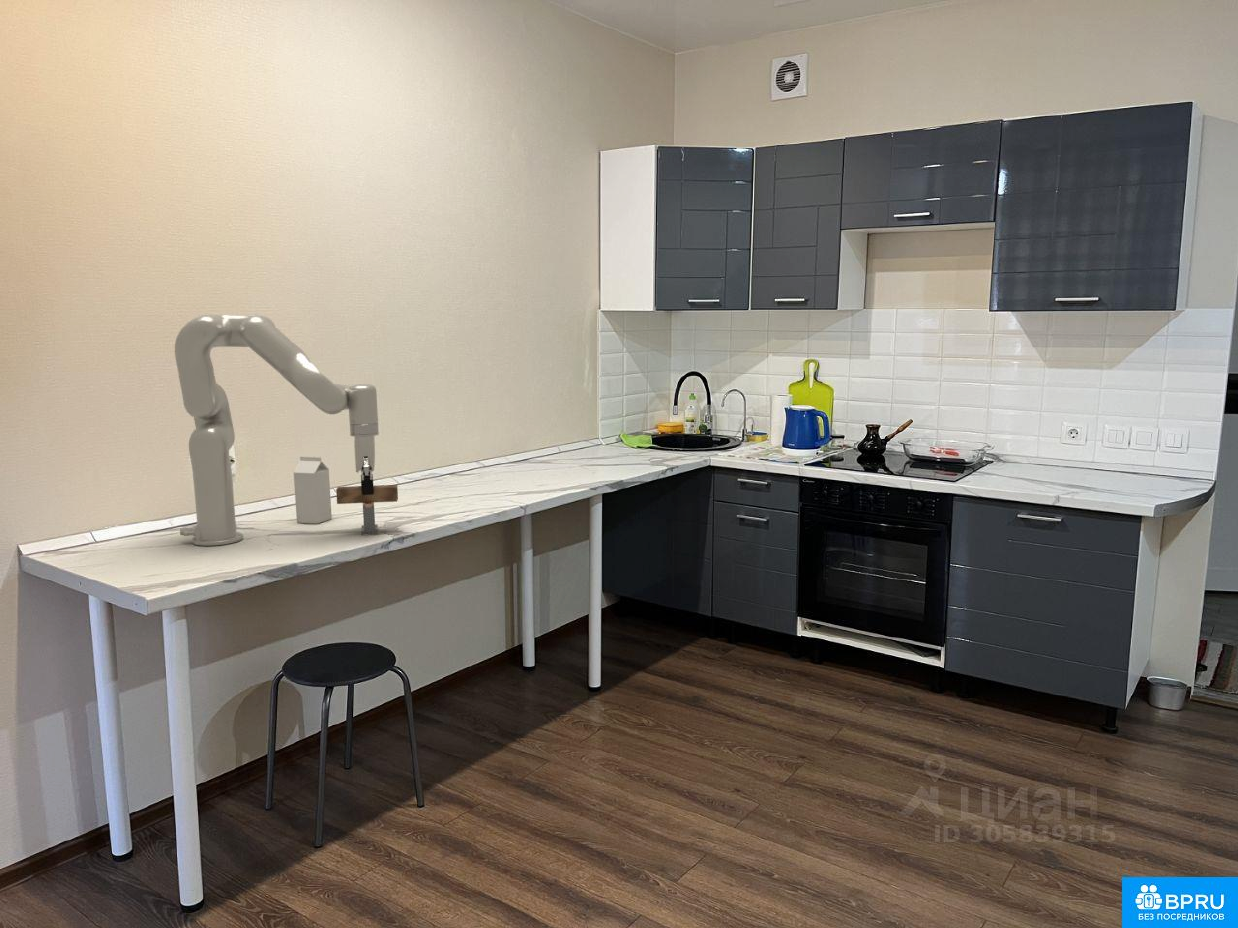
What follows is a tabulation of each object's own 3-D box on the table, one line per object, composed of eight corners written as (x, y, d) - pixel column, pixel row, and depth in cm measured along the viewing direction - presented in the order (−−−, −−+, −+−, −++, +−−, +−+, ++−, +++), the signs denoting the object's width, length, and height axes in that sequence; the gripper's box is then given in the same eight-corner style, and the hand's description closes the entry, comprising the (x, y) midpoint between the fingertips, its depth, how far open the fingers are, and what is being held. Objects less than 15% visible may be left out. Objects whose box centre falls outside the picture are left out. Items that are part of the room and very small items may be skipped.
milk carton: (317, 524, 273) (313, 459, 270) (296, 523, 275) (292, 458, 272) (332, 519, 280) (328, 455, 277) (311, 517, 282) (307, 455, 279)
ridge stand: (361, 534, 259) (359, 504, 258) (361, 529, 266) (359, 499, 265) (378, 533, 260) (376, 503, 259) (377, 528, 267) (376, 498, 266)
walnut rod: (337, 503, 259) (336, 489, 258) (339, 501, 262) (338, 487, 262) (396, 501, 261) (396, 487, 260) (398, 498, 265) (397, 484, 264)
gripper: (350, 426, 266) (353, 486, 269) (349, 434, 249) (353, 497, 252) (377, 425, 268) (380, 485, 271) (379, 433, 251) (382, 496, 254)
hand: (367, 491), depth 261 cm, fingers open, 9 cm apart
